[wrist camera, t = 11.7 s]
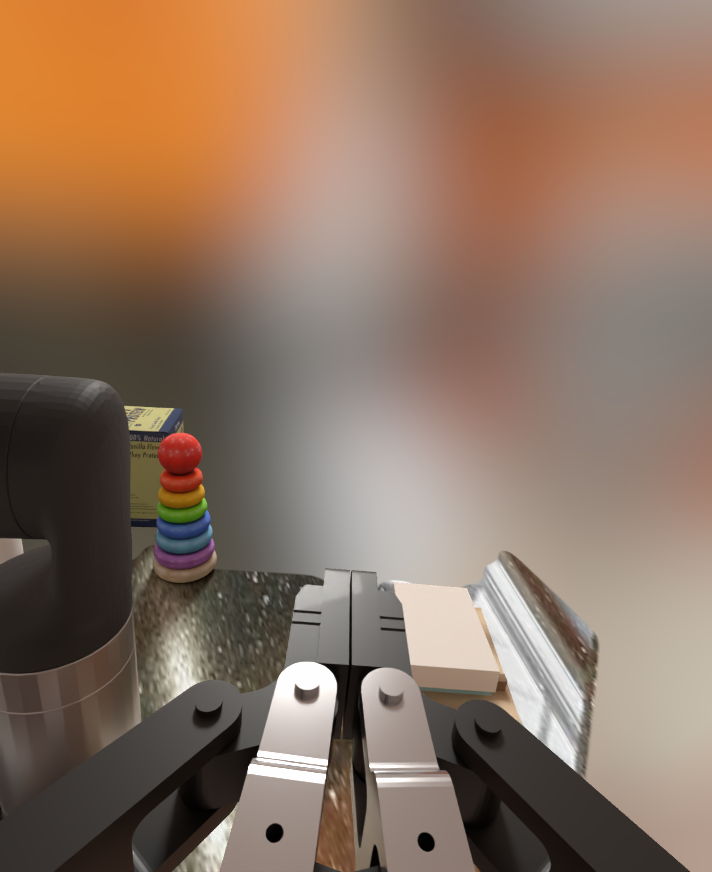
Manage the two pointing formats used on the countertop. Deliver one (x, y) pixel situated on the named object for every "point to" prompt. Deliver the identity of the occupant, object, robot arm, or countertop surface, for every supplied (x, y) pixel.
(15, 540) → the cup
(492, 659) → the tile
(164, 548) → the stacking toy
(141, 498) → the protein box
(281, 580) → the countertop surface
